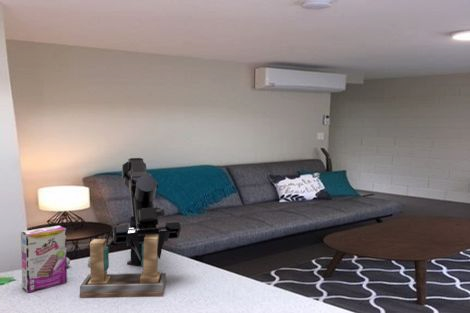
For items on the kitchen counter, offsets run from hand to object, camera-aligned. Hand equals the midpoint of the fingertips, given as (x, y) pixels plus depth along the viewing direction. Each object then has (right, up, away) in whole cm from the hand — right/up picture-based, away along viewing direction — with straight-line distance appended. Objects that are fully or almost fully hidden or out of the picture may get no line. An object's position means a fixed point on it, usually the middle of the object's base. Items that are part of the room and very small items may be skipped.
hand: (150, 258), depth 120 cm
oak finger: (0, -7, +2) cm, 7 cm away
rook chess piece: (-22, -7, +21) cm, 31 cm away
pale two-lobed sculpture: (-32, -8, +17) cm, 37 cm away
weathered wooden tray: (-7, -9, +2) cm, 12 cm away
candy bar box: (-31, -9, +4) cm, 32 cm away
